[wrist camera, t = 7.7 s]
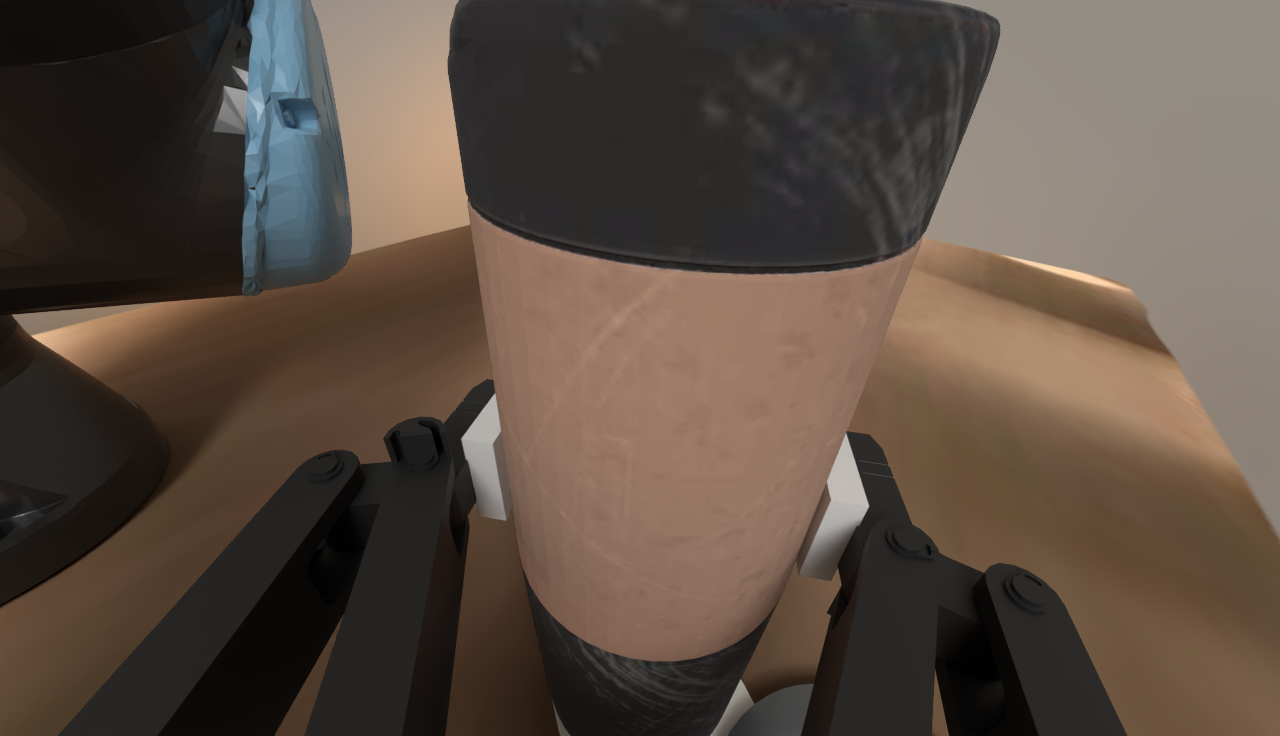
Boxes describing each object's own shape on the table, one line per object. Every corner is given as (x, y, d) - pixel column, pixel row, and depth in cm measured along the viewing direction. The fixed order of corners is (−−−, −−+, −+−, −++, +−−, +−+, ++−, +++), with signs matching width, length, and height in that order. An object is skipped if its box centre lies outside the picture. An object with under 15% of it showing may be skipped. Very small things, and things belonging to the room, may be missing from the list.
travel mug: (757, 613, 19) (970, 45, 8) (700, 842, 14) (1164, -41, 2) (601, 542, 22) (605, 32, 11) (497, 709, 16) (270, -26, 5)
